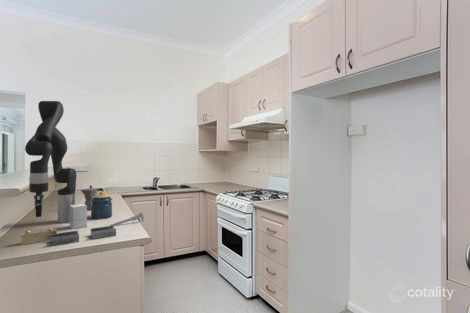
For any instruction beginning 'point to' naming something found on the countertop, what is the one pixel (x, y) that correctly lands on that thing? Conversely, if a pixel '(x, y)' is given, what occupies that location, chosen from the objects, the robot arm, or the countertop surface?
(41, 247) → the countertop surface
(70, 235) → the metal brackets
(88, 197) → the coffeepot
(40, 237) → the chain link plate
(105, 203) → the canister
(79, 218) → the supplement box
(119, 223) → the caliper
